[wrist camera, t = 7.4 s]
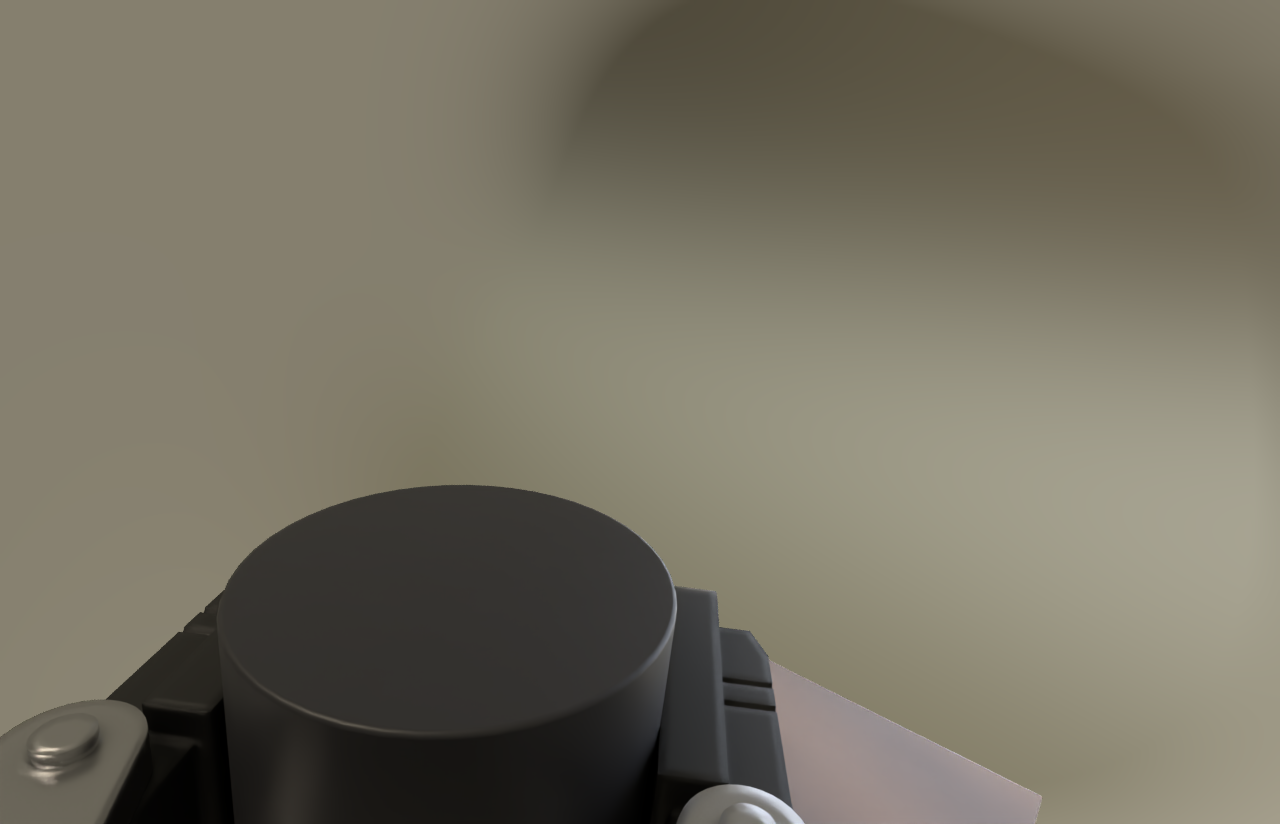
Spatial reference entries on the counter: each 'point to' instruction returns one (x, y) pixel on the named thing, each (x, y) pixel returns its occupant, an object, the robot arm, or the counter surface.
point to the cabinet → (881, 767)
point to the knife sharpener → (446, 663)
